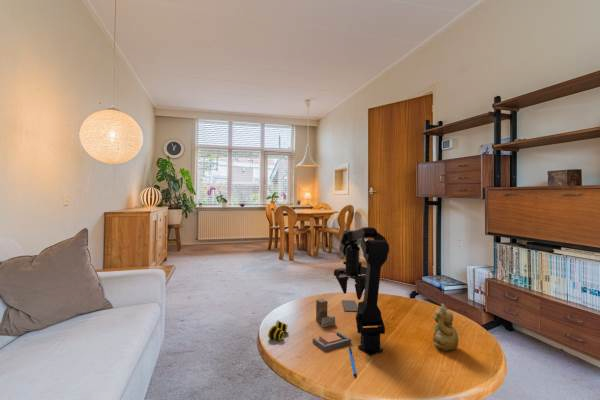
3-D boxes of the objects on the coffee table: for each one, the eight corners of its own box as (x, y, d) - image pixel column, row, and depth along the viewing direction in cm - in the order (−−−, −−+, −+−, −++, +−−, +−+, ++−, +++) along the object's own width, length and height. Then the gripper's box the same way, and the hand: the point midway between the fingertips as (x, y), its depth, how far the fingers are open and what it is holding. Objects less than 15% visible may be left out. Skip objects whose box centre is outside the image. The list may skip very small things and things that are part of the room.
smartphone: (344, 310, 144) (341, 300, 159) (344, 312, 144) (341, 301, 159) (359, 311, 143) (355, 300, 158) (359, 313, 143) (355, 302, 158)
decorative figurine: (434, 339, 115) (434, 300, 116) (458, 344, 112) (458, 304, 112) (432, 350, 107) (432, 308, 107) (458, 356, 103) (459, 312, 103)
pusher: (335, 324, 128) (335, 303, 128) (323, 327, 125) (323, 305, 125) (325, 318, 135) (325, 298, 135) (313, 321, 132) (313, 300, 132)
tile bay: (351, 343, 112) (351, 339, 112) (324, 351, 106) (324, 346, 106) (338, 335, 118) (338, 331, 118) (312, 342, 112) (312, 338, 112)
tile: (341, 344, 112) (341, 338, 112) (328, 347, 109) (328, 342, 109) (332, 337, 117) (332, 332, 117) (319, 340, 114) (319, 335, 114)
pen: (350, 348, 108) (350, 345, 108) (357, 379, 89) (357, 376, 89) (348, 348, 109) (348, 345, 109) (354, 379, 90) (354, 375, 90)
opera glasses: (279, 344, 112) (282, 331, 112) (266, 339, 113) (269, 327, 113) (287, 333, 122) (289, 321, 121) (275, 329, 123) (277, 317, 123)
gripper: (382, 262, 124) (381, 299, 124) (352, 254, 141) (352, 288, 141) (361, 264, 119) (361, 304, 119) (333, 256, 135) (332, 291, 135)
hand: (351, 296), depth 129 cm, fingers open, 9 cm apart
